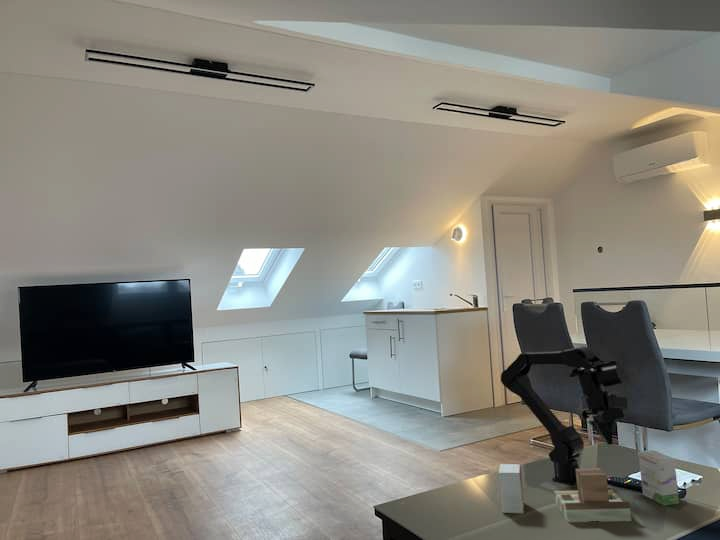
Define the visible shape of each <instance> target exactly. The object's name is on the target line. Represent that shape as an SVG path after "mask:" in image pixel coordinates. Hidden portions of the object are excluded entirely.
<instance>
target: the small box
mask: <svg viewBox="0 0 720 540" xmlns="http://www.w3.org/2000/svg"><path fill="white" fill-rule="evenodd" d="M497 474H498V483H499V494H500V505H501V512H502V513H503V514H524V513H525V512H524V509H525V508H524V506H525V502H524V501H525V499H524V491H523V490H524V489H523V479H522V468H521V464H516V463H514V464H513V463H500V464H499V469H498V473H497Z"/></svg>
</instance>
